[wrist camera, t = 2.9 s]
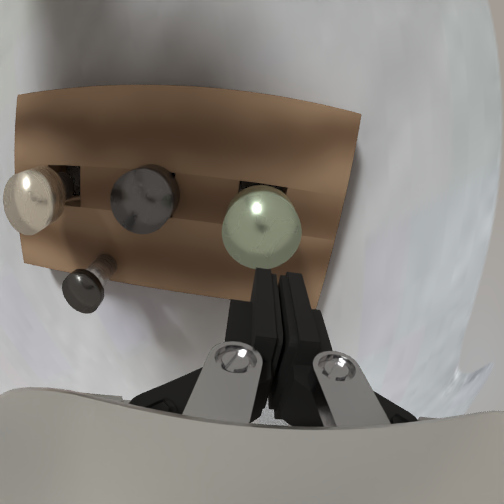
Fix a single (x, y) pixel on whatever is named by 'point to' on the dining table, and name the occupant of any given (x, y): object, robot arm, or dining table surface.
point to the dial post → (89, 284)
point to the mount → (185, 178)
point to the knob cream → (36, 198)
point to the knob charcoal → (144, 198)
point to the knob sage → (261, 227)
